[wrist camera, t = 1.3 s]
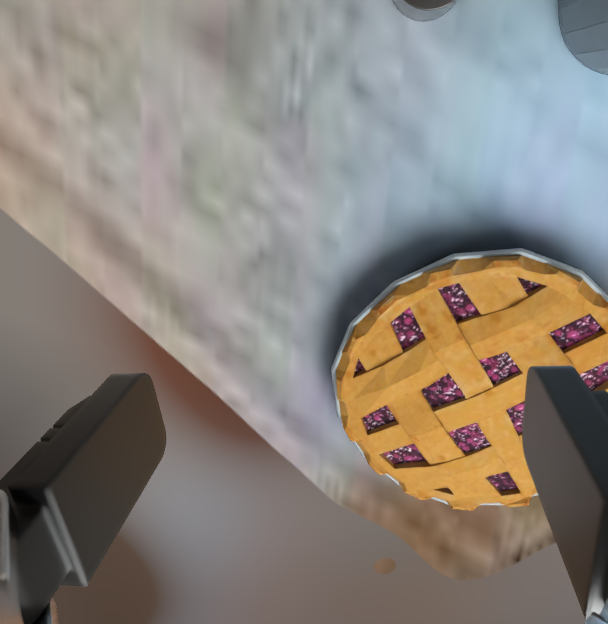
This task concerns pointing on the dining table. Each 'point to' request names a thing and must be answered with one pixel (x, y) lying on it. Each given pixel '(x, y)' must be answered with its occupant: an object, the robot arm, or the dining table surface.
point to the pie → (464, 370)
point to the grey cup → (586, 31)
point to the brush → (424, 8)
